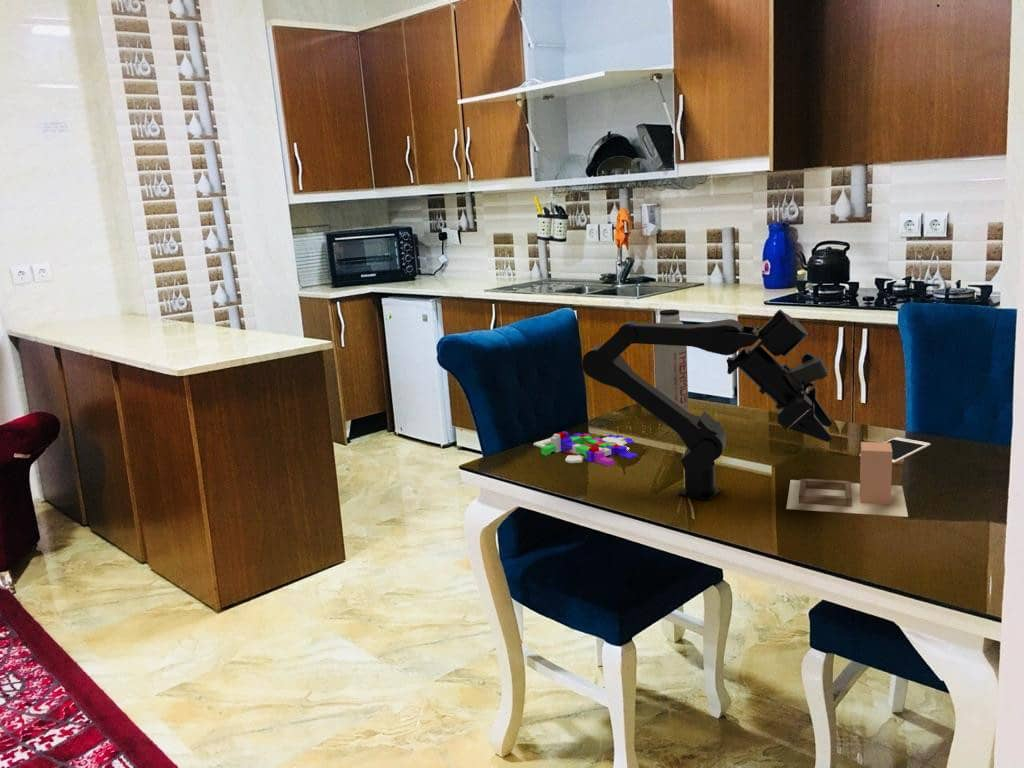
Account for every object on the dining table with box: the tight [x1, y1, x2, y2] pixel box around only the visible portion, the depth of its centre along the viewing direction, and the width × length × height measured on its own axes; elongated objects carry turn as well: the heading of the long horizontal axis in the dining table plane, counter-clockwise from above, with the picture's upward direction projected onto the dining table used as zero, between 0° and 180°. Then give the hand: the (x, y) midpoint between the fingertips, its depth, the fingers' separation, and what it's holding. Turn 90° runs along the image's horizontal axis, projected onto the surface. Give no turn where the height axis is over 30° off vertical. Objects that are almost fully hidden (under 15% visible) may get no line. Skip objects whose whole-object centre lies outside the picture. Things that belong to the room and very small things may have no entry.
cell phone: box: [858, 437, 931, 464], centre depth 180 cm, size 8×16×1 cm, turn 129°
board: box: [785, 478, 909, 518], centre depth 154 cm, size 20×15×2 cm
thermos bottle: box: [654, 309, 689, 413], centre depth 213 cm, size 8×8×28 cm
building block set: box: [533, 430, 639, 468], centre depth 196 cm, size 25×20×4 cm
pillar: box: [859, 441, 893, 505], centre depth 151 cm, size 5×5×10 cm
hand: (830, 432), depth 153 cm, fingers open, 9 cm apart
